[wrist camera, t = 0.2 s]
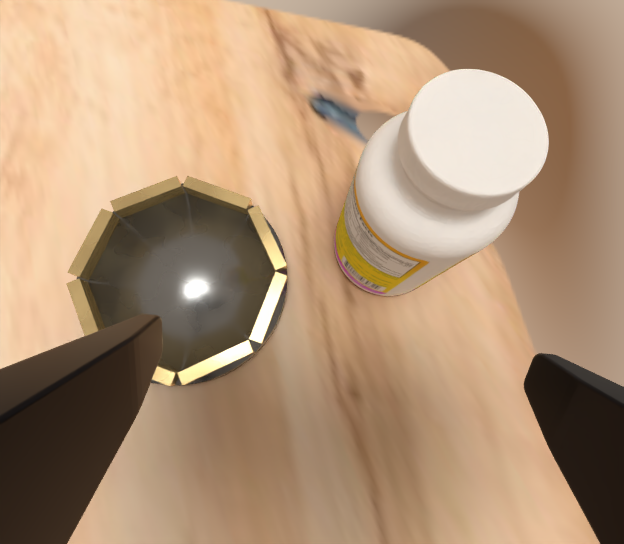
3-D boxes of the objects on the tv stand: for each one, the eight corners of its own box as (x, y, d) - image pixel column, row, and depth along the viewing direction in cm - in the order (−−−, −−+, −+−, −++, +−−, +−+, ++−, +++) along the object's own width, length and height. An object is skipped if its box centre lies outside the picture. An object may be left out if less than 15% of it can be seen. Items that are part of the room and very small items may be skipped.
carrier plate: (319, 329, 23) (322, 326, 21) (125, 421, 21) (109, 427, 19) (240, 164, 25) (237, 147, 23) (58, 234, 23) (37, 222, 22)
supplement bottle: (425, 197, 26) (557, 41, 13) (440, 294, 24) (605, 221, 12) (326, 201, 25) (368, 42, 13) (336, 301, 24) (392, 231, 11)
